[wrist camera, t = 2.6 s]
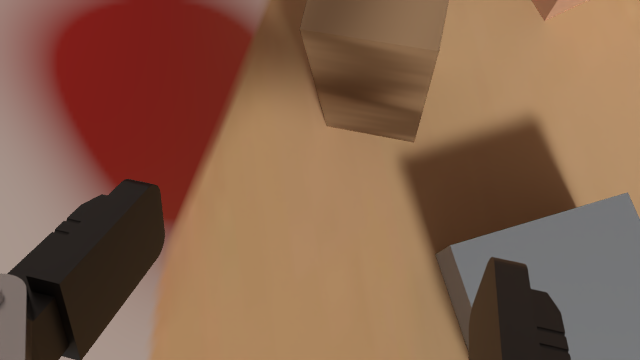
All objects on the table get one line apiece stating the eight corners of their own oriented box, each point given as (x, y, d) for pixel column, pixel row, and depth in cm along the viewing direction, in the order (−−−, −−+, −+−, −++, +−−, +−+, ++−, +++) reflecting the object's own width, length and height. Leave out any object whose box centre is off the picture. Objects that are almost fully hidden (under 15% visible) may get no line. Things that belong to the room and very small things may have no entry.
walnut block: (430, 60, 27) (463, -74, 17) (414, 142, 26) (438, 51, 16) (345, 46, 27) (329, -91, 18) (326, 126, 26) (299, 28, 17)
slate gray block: (577, 212, 24) (627, 192, 20) (639, 361, 23) (711, 381, 18) (434, 254, 25) (450, 245, 20) (486, 405, 23) (516, 435, 18)
